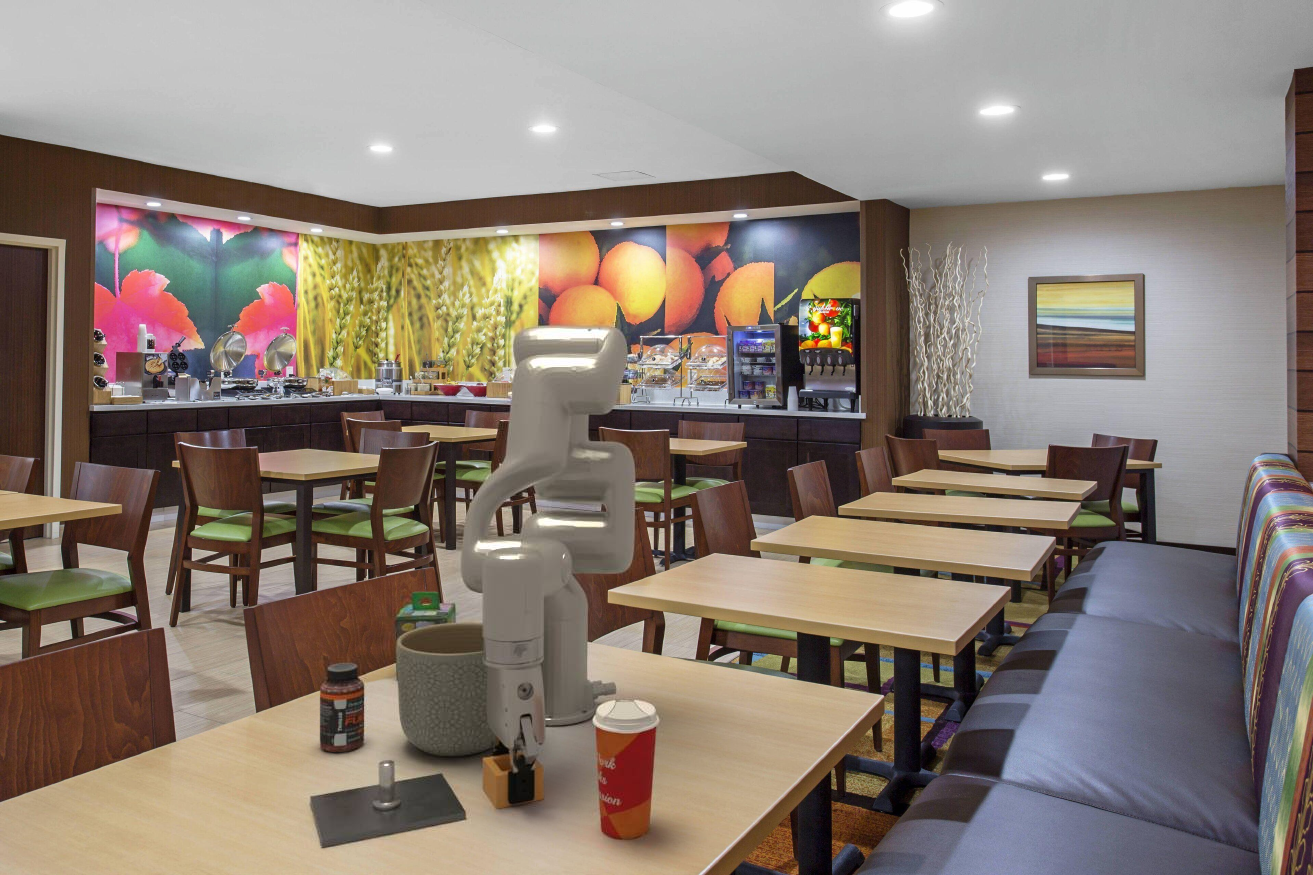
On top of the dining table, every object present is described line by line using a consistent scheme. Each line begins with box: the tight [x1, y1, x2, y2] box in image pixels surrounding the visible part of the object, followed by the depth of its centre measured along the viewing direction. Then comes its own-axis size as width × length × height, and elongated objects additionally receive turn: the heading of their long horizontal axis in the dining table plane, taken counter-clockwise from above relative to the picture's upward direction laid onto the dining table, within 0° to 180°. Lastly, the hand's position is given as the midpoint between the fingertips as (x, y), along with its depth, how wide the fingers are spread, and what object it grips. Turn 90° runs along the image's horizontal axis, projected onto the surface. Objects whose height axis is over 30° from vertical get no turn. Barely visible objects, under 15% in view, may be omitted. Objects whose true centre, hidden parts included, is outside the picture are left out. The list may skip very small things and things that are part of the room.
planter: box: [396, 621, 493, 758], centre depth 131 cm, size 17×17×15 cm
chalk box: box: [394, 591, 457, 682], centre depth 162 cm, size 9×9×15 cm
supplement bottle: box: [319, 662, 365, 753], centre depth 129 cm, size 6×6×11 cm
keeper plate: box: [309, 759, 467, 848], centre depth 110 cm, size 16×12×6 cm
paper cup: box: [592, 699, 660, 840], centre depth 106 cm, size 8×8×14 cm
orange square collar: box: [482, 750, 545, 810], centre depth 115 cm, size 6×6×4 cm
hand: (512, 789), depth 115 cm, fingers closed on orange square collar, 6 cm apart
